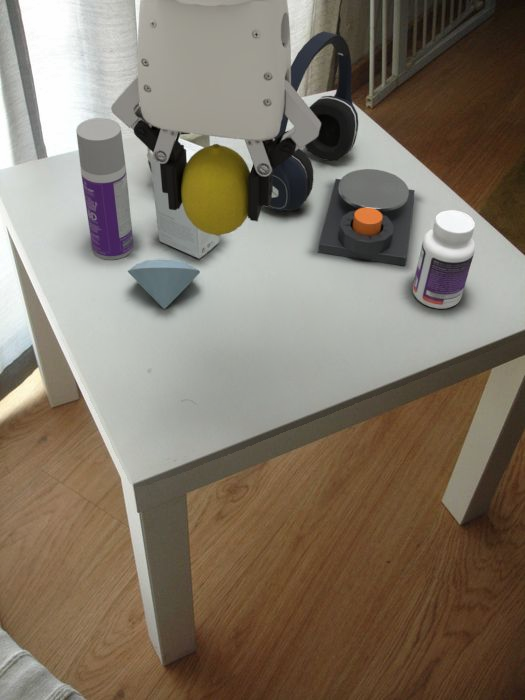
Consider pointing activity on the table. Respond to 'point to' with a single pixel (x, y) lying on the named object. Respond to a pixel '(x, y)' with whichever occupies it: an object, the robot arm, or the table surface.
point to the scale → (377, 247)
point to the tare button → (367, 221)
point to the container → (105, 187)
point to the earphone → (335, 131)
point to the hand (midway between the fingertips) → (217, 203)
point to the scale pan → (373, 190)
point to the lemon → (216, 190)
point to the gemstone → (163, 278)
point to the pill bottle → (445, 260)
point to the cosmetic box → (179, 216)
